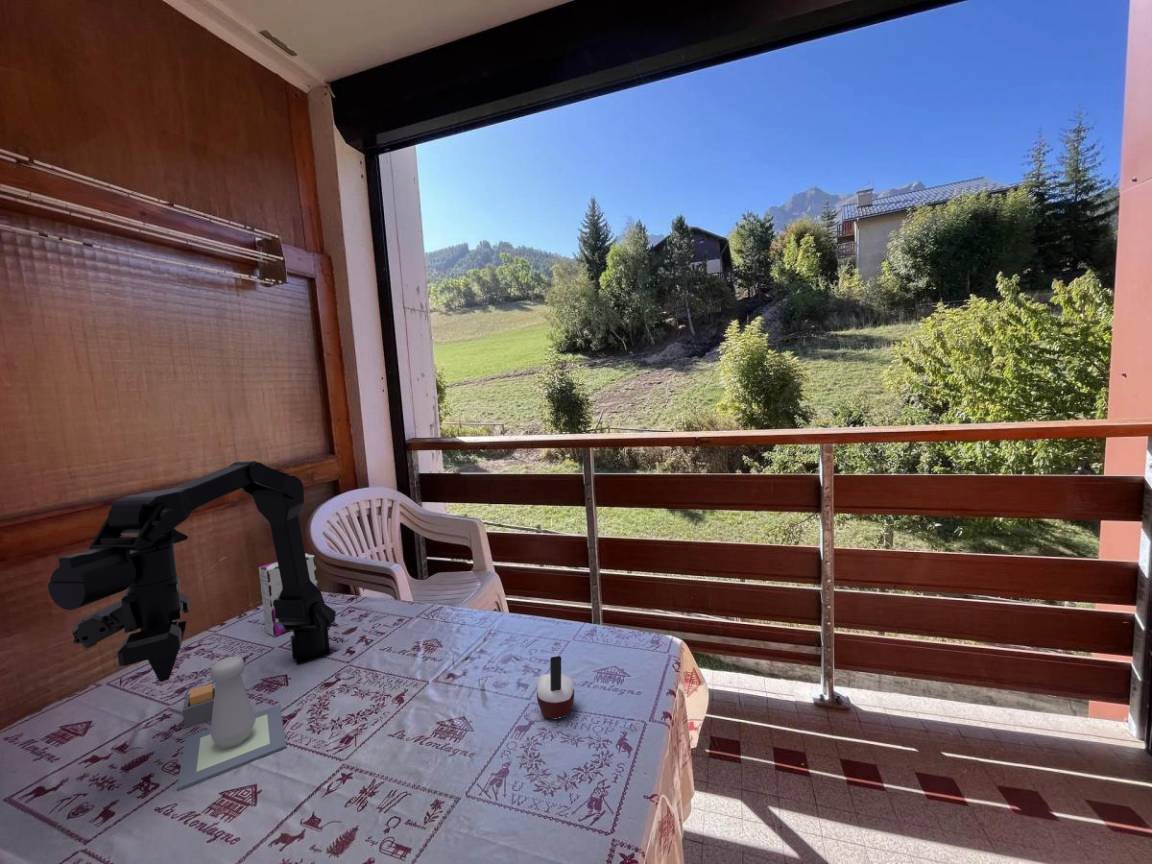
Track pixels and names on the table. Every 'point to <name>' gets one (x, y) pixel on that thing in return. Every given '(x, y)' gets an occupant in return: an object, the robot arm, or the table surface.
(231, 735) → the salt shaker
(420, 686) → the table surface
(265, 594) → the candy bar box
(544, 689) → the cocoa
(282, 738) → the grey flat square slab
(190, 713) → the button housing
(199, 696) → the push button
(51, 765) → the table surface
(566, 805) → the table surface
